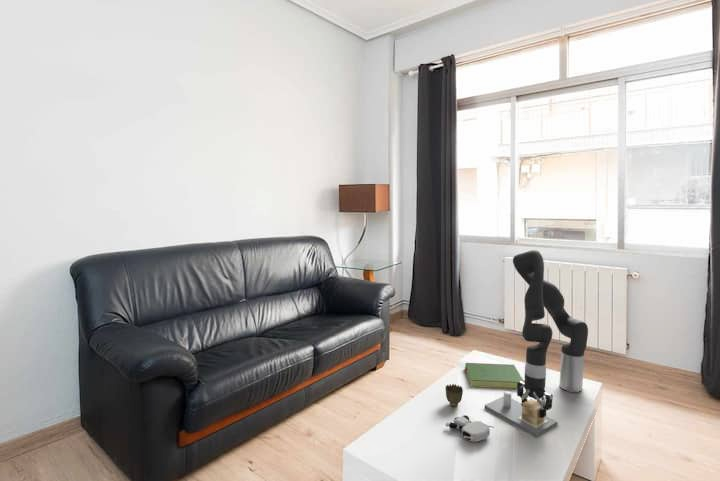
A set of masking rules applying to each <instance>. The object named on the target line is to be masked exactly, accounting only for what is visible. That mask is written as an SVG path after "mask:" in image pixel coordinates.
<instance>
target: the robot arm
mask: <svg viewBox="0 0 720 481" xmlns="http://www.w3.org/2000/svg"><path fill="white" fill-rule="evenodd" d="M512 264H513V266H514V268H515V271H516V272H517V273H518V274H519V276H520V277H521V278H522V280H524V281H525V283H526V284H527V285H528V288H527V290H526V292H525V294H524V295H525V296H524V310H525V311H524V313H525V315H524V317H525V318H524V323H523V326H522V331H521V332H522V333H521V334H522V337H523V339H524V340H525V341H526V342H533V343H538V344H535V345H534V344H533V345H529V346H528V347H527V348H526V353H525V354H526V355H525V365H524V379H523V381H524V382H523V381H520V382H518V383H517V388H516V391H517V392H516V396H518V397H520V400H521V402H520V403H521V405H522V403H524V402H526V401H528V397H529V398H530V399H533V400H535V401H537V402H538V404H539V405H540V407H541V409H540V418H544V417H545V416H547V411H549V410H551V409H552V408H553V400H554V398H553V396H554V394H552V393H548V392H546V390H545V387H546V380H547V379H546V377H547V351H548V348H549V345H550V343H551V340H552V338H553V330H552V329H553V328H552V327H551V326H550V325H549V324H547V323H533V321H535V322H536V321H538V320H539V321H540V320H542V319H544V318H545V317H546V315H545V314H546V313H545V310H546V311H547V312H548V314H549V315H550V316H551V319H552V320H553V322H554V324H555V326H556V328H557V330H558V331H559V333H560V334H561V335H563V336H565V338H569V339H570V342H568V343H563V344H562V346H561V350H560V351H561V353H560V370H559V387H561V388H562V389H561V388H560V389H561V390H563V389H564V390H563V391H565V390H567V391H566V392H568V391H571V392H570V393H572V392H578V393H580V392H579V391H581V390H582V391H583V383H584V382H583V380H584V360H585V352H586V349H587V345H588V337H589V336H588V335H589V327H588V325H587V323H585V322H584V321H583V320H579V319H577V318H574V317H572V316H570V314H568V312H567V311H566V309H565V308H564V307H565V298H564V295H563V294H562V292H561V291H560V290H559V288H558V287H557V286H556V285H555V284H554V283H552V282H550V281H548V280H546V279H544V276H545V263H544V258H543V255H542V254H541V252H540V251H538V250H537V249H532V250H529V251H525V252H522V253H518V254H516V255H515V256H513V258H512ZM523 387H524V389H525V392H524V389H523ZM582 391H581V392H582Z"/></svg>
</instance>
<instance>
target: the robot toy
mask: <svg viewBox="0 0 720 481" xmlns="http://www.w3.org/2000/svg"><path fill="white" fill-rule="evenodd" d="M445 427H449V429H451V430H452V429H453V430H455V429H456V430H458V431H461V435H462V436H463V438H464V439H466V440H468V441H470V442H479V441H482V440H485V439H486V438H488V437H489V436H490V433H491V432H490V430H491V428H492V429H493V428H495V426H494V425H488V424H486V423H484V422H483V421H481V420H480V421H479V420H478V421H477V420H474V421H471V420H470V417H469V416H468V415H466V414H464V415H462V416H456V417H453V422H446V423H445Z"/></svg>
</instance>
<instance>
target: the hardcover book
mask: <svg viewBox="0 0 720 481" xmlns="http://www.w3.org/2000/svg"><path fill="white" fill-rule="evenodd" d="M464 369H465V371H466V373H467V376H468V379H469V382H470V386H471V387H481V388H482V387H483V388H485V387H486V388H502V389H503V388H504V389H517V383H518V382H520V381H523V382H524V379H523V376H521V374H520V372H519V370H518V369H517V368H516V366H515V364H509V363H508V364H504V363H481V362H479V363H478V362H465V367H464ZM524 383H525V382H524ZM524 389H525V388H524V387H523V390H524Z"/></svg>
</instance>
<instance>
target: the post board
mask: <svg viewBox="0 0 720 481" xmlns="http://www.w3.org/2000/svg"><path fill="white" fill-rule="evenodd" d="M521 403H522V402H519V401H517V400H515V399H514V398H512V392H511V391H503V396H502V397H499V398H496V399H495V400H493V401H490V402H489V403H486V404H484V409H485V410H487V411H488V412H490V413H492V414H494V415H495V416H498V417H499V418H501V419H502V420H505V421H506V422H508V423H509V424H512V425H513V426H515V427H517V428H519V429H520V430H522V431H524V432H526V433H528V434H529V435H531V436H533V437H535V438H538V437H539V436H541V435H543V434H545V433H547V432H548V431H550V430H552V429H553V428H554V427H556V426H558V424H559V423H558V421H557V420H556V419H553V418H552V417H549V416H548V415H546V416H545V420H544V421H543V422H541V423H540V424H538V425H536V426H535V425H533V424H531V423H529V422H527V421H525V420H524V419H522V405H521Z"/></svg>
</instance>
